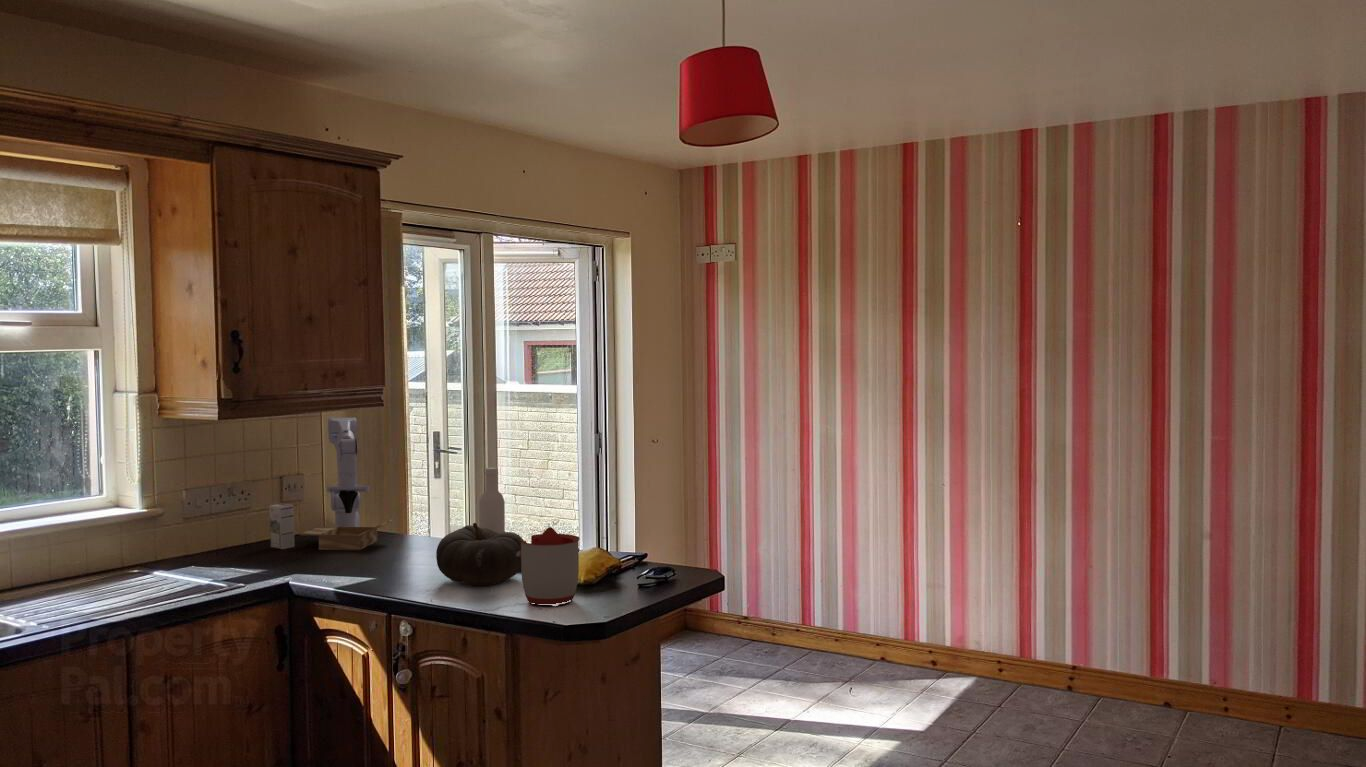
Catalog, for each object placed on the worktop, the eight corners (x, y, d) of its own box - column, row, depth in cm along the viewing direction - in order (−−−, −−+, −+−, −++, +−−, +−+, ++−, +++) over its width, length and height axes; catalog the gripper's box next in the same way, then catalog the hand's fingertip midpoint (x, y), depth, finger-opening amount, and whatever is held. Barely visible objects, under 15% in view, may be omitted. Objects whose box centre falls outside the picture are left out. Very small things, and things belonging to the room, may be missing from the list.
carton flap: (393, 518, 360) (394, 519, 360) (376, 527, 361) (377, 528, 361) (378, 525, 346) (379, 526, 346) (360, 534, 346) (361, 536, 346)
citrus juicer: (533, 592, 286) (532, 520, 285) (590, 598, 279) (589, 524, 279) (503, 605, 271) (502, 529, 270) (562, 612, 265) (562, 533, 264)
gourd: (456, 560, 316) (462, 505, 313) (533, 576, 312) (540, 521, 309) (420, 587, 292) (426, 528, 289) (503, 605, 288) (511, 546, 285)
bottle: (475, 566, 320) (474, 469, 319) (485, 561, 328) (485, 466, 327) (499, 567, 318) (498, 470, 317) (509, 562, 326) (508, 467, 325)
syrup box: (295, 546, 352) (294, 504, 351) (280, 549, 347) (279, 506, 346) (284, 545, 355) (283, 502, 354) (269, 547, 350) (268, 505, 349)
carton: (318, 540, 363) (318, 526, 363) (377, 541, 362) (377, 527, 362) (298, 549, 347) (298, 534, 347) (359, 550, 346) (359, 535, 346)
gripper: (322, 474, 355) (323, 514, 355) (364, 474, 354) (364, 514, 354) (331, 472, 362) (331, 511, 362) (371, 472, 361) (372, 511, 361)
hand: (348, 512), depth 358 cm, fingers closed
